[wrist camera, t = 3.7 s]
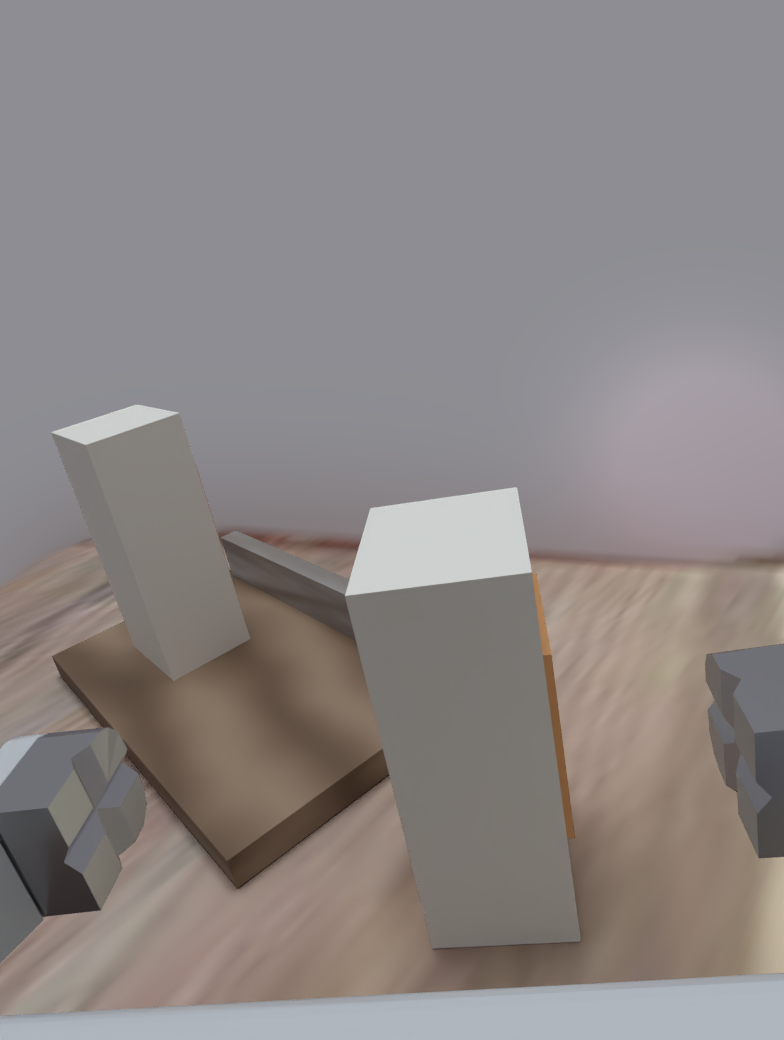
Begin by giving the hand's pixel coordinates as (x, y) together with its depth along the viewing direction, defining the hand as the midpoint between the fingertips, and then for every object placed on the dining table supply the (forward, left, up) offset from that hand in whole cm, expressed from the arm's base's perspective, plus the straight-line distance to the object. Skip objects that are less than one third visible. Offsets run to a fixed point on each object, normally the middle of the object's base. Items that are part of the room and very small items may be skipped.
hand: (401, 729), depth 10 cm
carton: (-4, +34, -15) cm, 37 cm away
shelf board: (-2, +29, -17) cm, 34 cm away
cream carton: (+5, +11, -17) cm, 21 cm away
